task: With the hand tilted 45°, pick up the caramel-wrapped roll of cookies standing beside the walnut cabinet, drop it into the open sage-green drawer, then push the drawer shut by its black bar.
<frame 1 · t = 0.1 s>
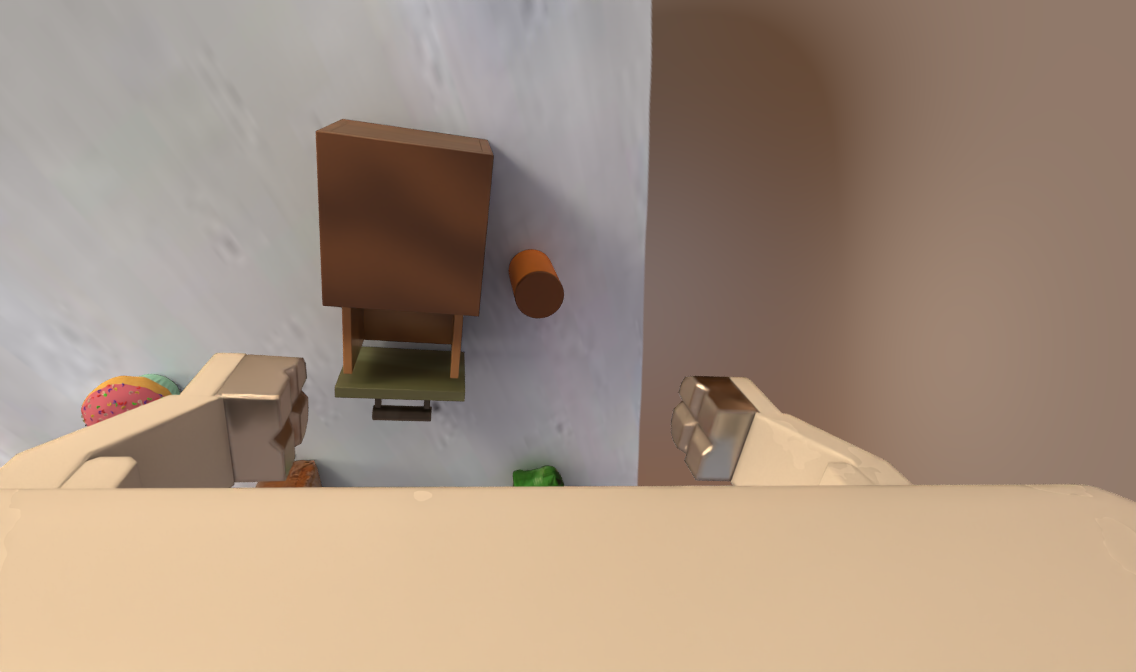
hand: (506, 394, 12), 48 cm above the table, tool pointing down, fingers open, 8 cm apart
cookie roll: (530, 270, 61), on the table
cupcake: (155, 391, 60), on the table
snack package: (542, 497, 77), on the table
food item: (299, 500, 70), on the table
drawer: (406, 337, 56), point 5 cm above the table, slide at 9.0 cm
cabinet: (414, 204, 56), on the table
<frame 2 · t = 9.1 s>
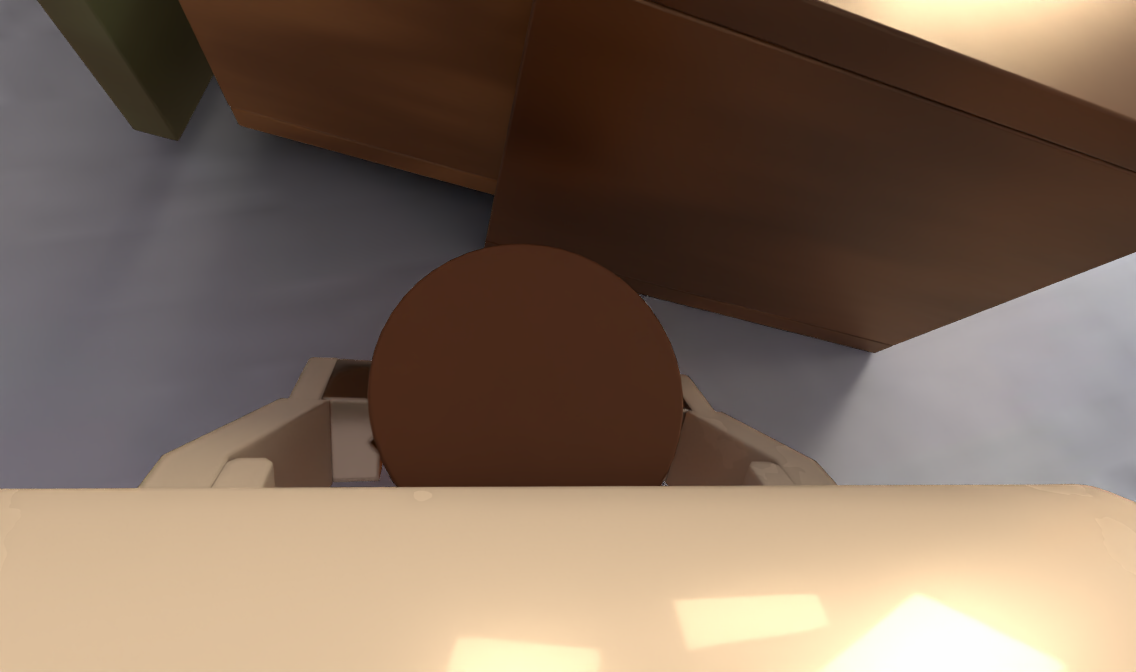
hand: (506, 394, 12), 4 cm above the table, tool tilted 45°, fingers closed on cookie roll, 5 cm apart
cookie roll: (487, 449, 16), on the table, touching gripper
cabinet: (703, 150, 21), on the table
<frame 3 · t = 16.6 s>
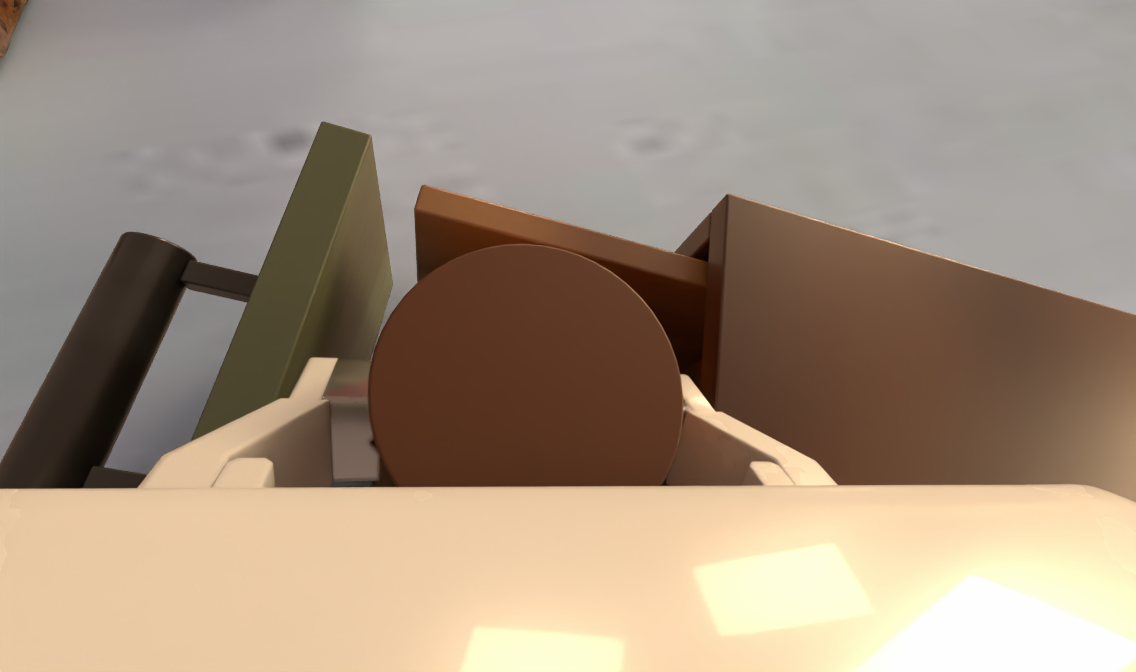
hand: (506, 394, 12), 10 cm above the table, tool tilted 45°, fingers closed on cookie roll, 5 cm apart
cookie roll: (487, 449, 16), point 6 cm above the table, touching gripper
drawer: (452, 443, 16), point 5 cm above the table, slide at 9.0 cm
cabinet: (748, 518, 23), on the table
when the fingers open (13 cm above the table, at t = 31.4 s): cookie roll drops 6 cm, resting on drawer.
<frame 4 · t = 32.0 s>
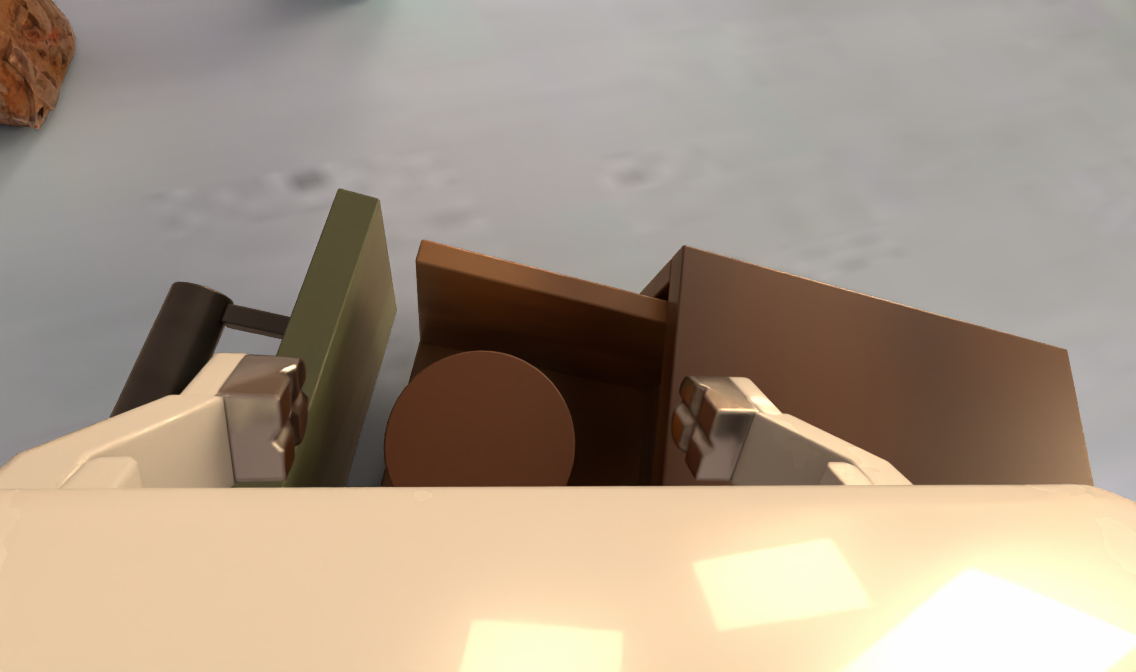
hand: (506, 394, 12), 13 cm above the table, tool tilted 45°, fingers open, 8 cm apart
cookie roll: (465, 468, 21), point 2 cm above the table, touching drawer
drawer: (448, 454, 18), point 5 cm above the table, slide at 9.1 cm, touching cookie roll
cabinet: (718, 519, 25), on the table
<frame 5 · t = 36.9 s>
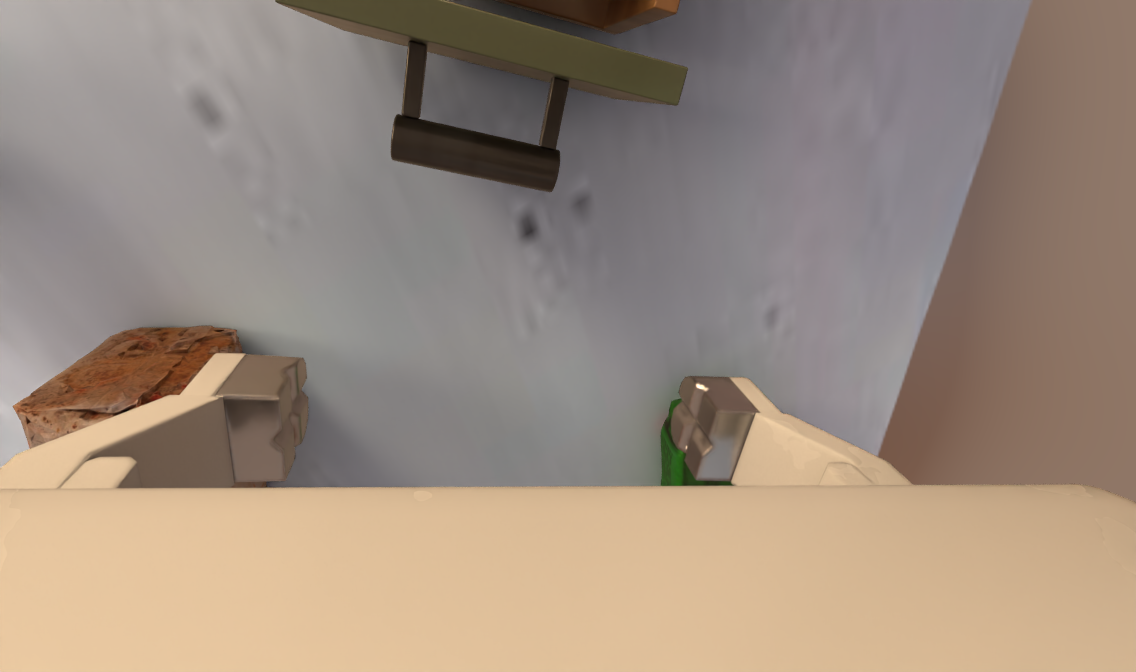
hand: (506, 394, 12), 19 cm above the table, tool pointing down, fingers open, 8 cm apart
snack package: (699, 470, 39), on the table
food item: (202, 427, 31), on the table
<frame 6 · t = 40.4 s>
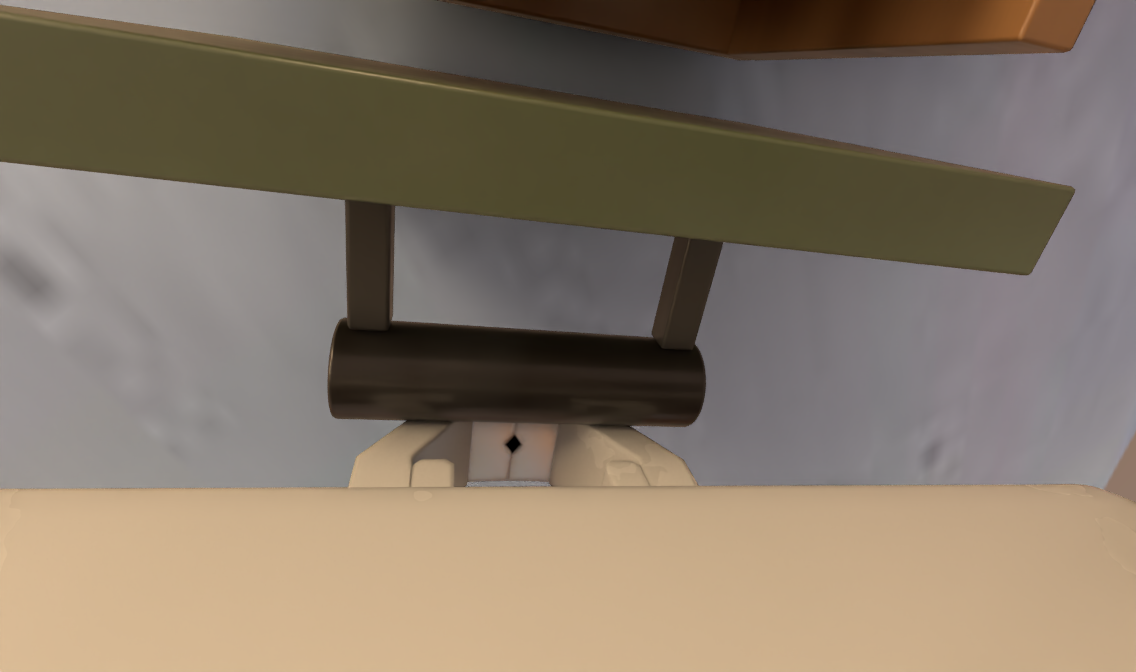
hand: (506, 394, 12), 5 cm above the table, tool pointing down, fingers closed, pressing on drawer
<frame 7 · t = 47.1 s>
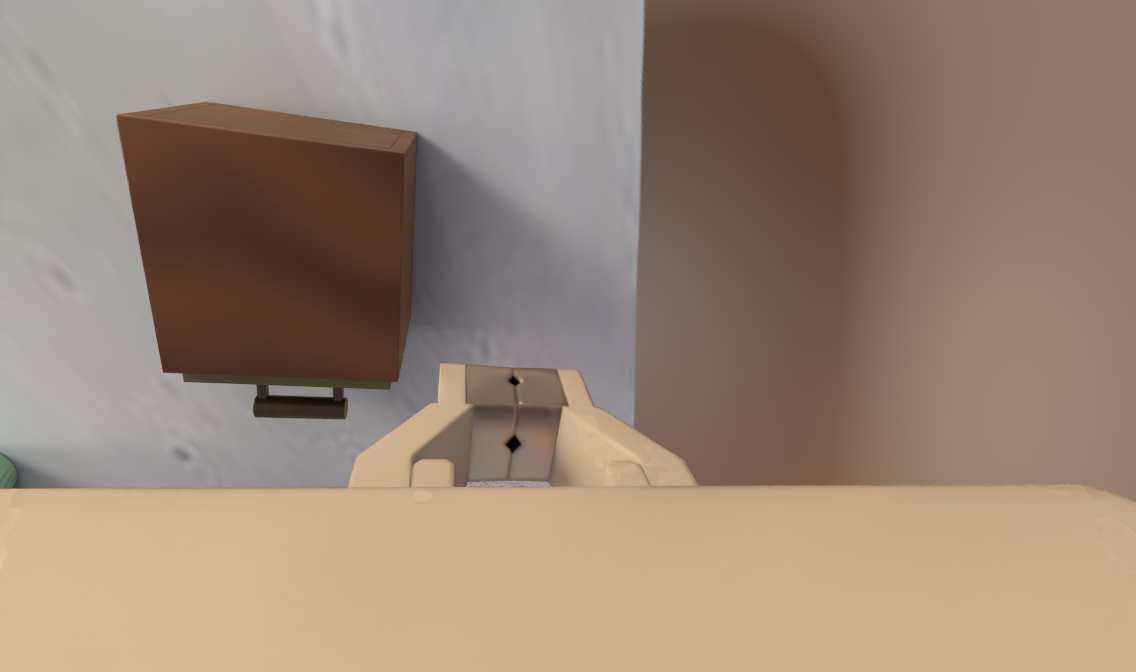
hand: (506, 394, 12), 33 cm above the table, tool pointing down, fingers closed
drawer: (304, 294, 38), point 5 cm above the table, slide at 0.0 cm, touching cookie roll
cabinet: (319, 221, 41), on the table
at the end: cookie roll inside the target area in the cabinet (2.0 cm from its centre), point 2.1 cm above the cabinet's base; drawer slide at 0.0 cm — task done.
